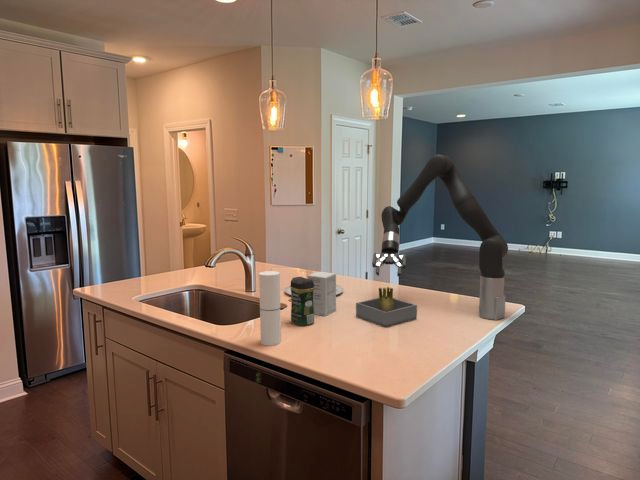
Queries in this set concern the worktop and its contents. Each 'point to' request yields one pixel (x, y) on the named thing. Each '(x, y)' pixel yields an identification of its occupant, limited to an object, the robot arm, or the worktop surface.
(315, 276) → the supplement box
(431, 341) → the worktop surface
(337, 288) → the plated food
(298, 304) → the coffee jar
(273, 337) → the cylindrical container
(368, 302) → the bin
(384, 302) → the fennel bulb
